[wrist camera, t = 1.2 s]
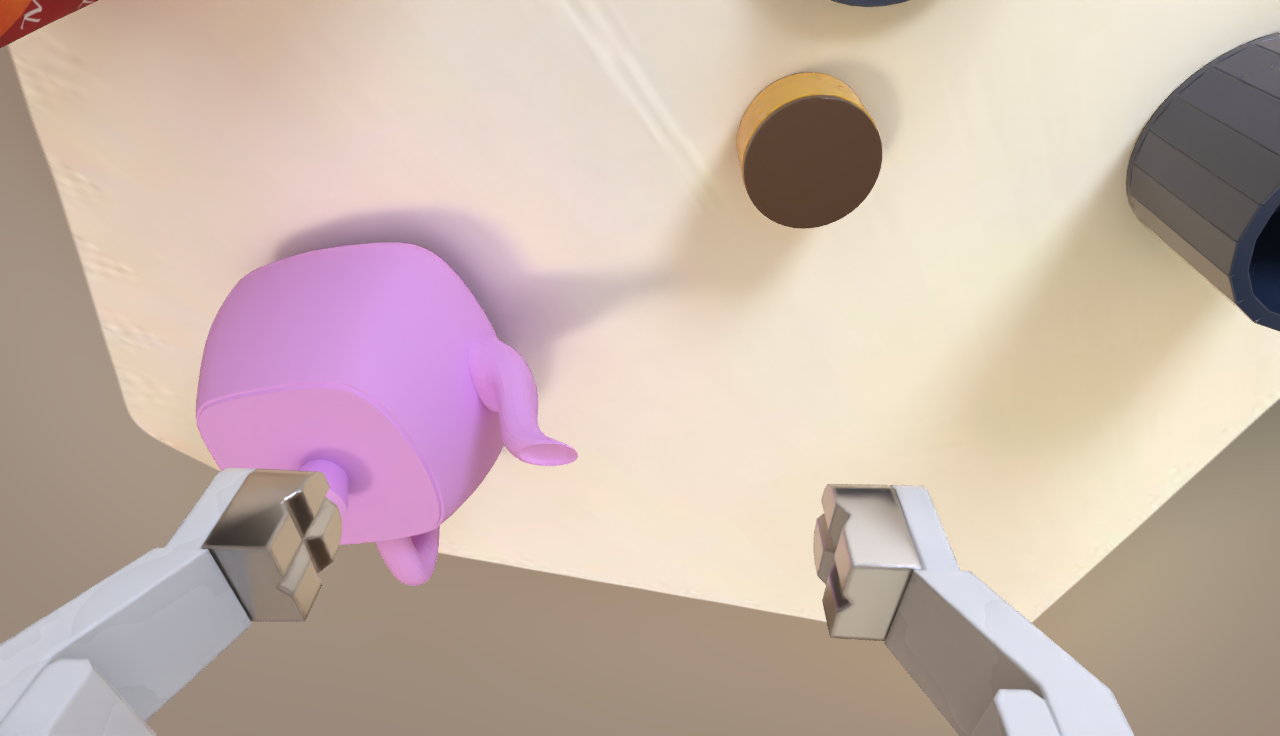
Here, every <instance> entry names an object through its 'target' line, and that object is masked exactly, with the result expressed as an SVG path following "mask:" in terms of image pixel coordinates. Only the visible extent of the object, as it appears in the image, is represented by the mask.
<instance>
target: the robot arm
mask: <svg viewBox="0 0 1280 736" xmlns="http://www.w3.org/2000/svg"><path fill="white" fill-rule="evenodd" d="M329 488H330V486H329V484H328V481H327V479H326V477H325V475H324V473H321V472H317V471H299V470H280V469H260V468H257V469H251V468H230V467H227V468H225V469H224V470H222V471H221V472H219V473H218V474H217V475H216V476H215V477H214V479H213V480H212V482H211V483H210V484H209V486H208V487H207V489H206V490H205V491H204V493H203V494H202V496H201V497H200V498H199V500H198V501H197V503H196V504H195V505H194V507H193V508H192V510H191V511H190V513H189V514H188V515H187V517H186V518H185V520H184V521H183V522H182V524H181V525H180V527H179V528H178V530H177V531H176V532H175V534H174V535H173V536H172V538H171V539H170V541H169V542H168V544H167V545H166V546H165V548H154V549H152V550H151V551H149V552H148V553H146V554H144V555H143V556H141V557H139V558H138V559H136V560H135V561H133V562H132V563H130V564H128V565H127V566H125V567H123V568H122V569H120V570H119V571H117V572H116V573H114V574H112V575H111V576H109V577H107V578H106V579H104V580H103V581H101V582H99V583H98V584H96V585H95V586H93V587H91V588H90V589H88V590H86V591H85V592H83V593H82V594H80V595H78V596H77V597H76V598H74V599H72V600H70V601H69V602H67V603H66V604H64V605H62V606H61V607H59V608H58V609H56V610H54V611H53V612H51V613H50V614H48V615H46V616H45V617H43V618H42V619H40V620H38V621H37V622H35V623H34V624H32V625H30V626H29V627H27V628H26V629H24V630H22V631H21V632H19V633H18V634H16V635H14V636H13V637H11V638H9V639H8V640H6V641H5V642H3V643H2V644H0V736H157V734H155V732H154V731H153V730H152V729H151V728H150V727H149V726H148V725H147V724H146V721H147V720H148V719H149V718H150V717H151V716H153V715H154V714H155V713H156V712H157V711H158V710H159V709H160V708H161V707H162V706H163V705H165V704H166V703H167V702H168V701H169V700H170V699H171V698H172V697H173V696H174V695H175V694H177V693H178V692H179V691H180V690H181V689H182V688H183V687H184V686H185V685H186V684H188V683H189V682H190V681H191V680H192V679H193V678H194V677H195V676H196V675H197V674H199V673H200V672H201V671H202V670H203V669H204V668H205V667H206V666H207V665H208V664H209V663H211V662H212V661H213V660H214V659H215V658H216V657H217V656H218V655H219V654H220V653H221V652H223V651H224V650H225V649H226V648H227V647H228V646H229V645H230V644H231V643H232V642H233V641H235V640H236V639H237V638H238V637H239V636H240V635H241V634H242V633H243V632H244V631H246V630H247V629H248V628H249V627H250V626H251V625H252V622H251V621H296V622H301V621H303V622H305V621H306V619H307V616H308V614H309V612H310V610H311V608H312V606H313V604H314V601H315V599H316V597H317V595H318V592H319V591H320V589H321V586H322V584H321V581H320V578H319V575H318V573H319V572H320V571H322V570H323V569H324V568H325V567H327V566H328V565H329V564H331V563H332V562H333V560H334V558H335V556H336V553H337V551H338V549H339V546H340V540H341V534H342V520H341V514H340V512H339V509H338V506H337V505H336V504H334V503H333V502H332V501H330V500H329V499H328V498H326V497H325V496H326V494H327V492H328V490H329ZM822 505H823V509H824V514H822V515H821V516H820V517H819V518H817V521H816V526H815V531H814V559H815V566H816V571H817V576H818V577H819V578H820V579H821V580H822V581H823V582H824V583H825V584H826V588H825V592H824V596H823V600H822V601H823V606H824V611H825V615H826V620H827V625H828V630H829V634H830V638H841V639H859V640H877V641H885V645H886V646H887V648H888V649H889V650H890V651H891V652H892V654H893V655H894V656H895V657H896V659H897V660H898V661H899V662H900V663H901V665H902V666H903V667H904V668H905V670H906V671H907V672H908V673H909V674H910V676H911V677H912V678H913V679H914V681H915V682H916V683H917V684H918V685H919V687H920V688H921V689H922V690H923V691H924V693H925V694H926V695H927V696H928V698H929V699H930V700H931V701H932V703H933V704H934V705H935V706H936V707H937V709H938V710H939V711H940V712H941V714H942V715H943V716H944V717H945V718H946V720H947V721H948V722H949V723H950V725H951V726H952V727H953V728H954V729H955V731H956V732H957V733H958V734H959V736H1134V734H1133V732H1132V730H1131V728H1130V726H1129V724H1128V722H1127V720H1126V718H1125V716H1124V715H1123V713H1122V711H1121V709H1120V707H1119V705H1118V703H1117V701H1116V699H1115V697H1114V695H1113V693H1112V691H1111V690H1110V689H1109V688H1107V687H1106V686H1105V685H1104V684H1103V683H1102V682H1100V681H1099V680H1098V679H1097V678H1096V677H1094V676H1093V675H1092V674H1091V673H1090V672H1088V671H1087V670H1086V669H1085V668H1084V667H1083V666H1081V665H1080V664H1079V663H1078V662H1077V661H1076V660H1074V659H1073V658H1072V657H1071V656H1070V655H1068V654H1067V653H1066V652H1065V651H1064V650H1063V649H1061V648H1060V647H1059V646H1058V645H1057V644H1055V643H1054V642H1053V641H1052V640H1051V639H1050V638H1048V637H1047V636H1046V635H1045V634H1044V633H1042V632H1041V631H1040V630H1039V629H1038V628H1037V627H1035V626H1034V625H1033V624H1032V623H1031V622H1029V621H1028V620H1027V619H1026V618H1025V617H1024V616H1022V615H1021V614H1020V613H1019V612H1018V611H1016V610H1015V609H1014V608H1013V607H1012V606H1011V605H1009V604H1008V603H1007V602H1006V601H1005V600H1003V599H1002V598H1001V597H1000V596H999V595H998V594H996V593H995V592H994V591H993V590H992V589H990V588H989V587H988V586H987V585H986V584H985V583H983V582H982V581H981V580H980V579H979V578H977V577H976V576H975V575H974V574H973V573H972V572H970V571H960V568H959V566H958V564H957V561H956V559H955V556H954V554H953V551H952V549H951V546H950V544H949V541H948V539H947V536H946V534H945V531H944V529H943V527H942V524H941V522H940V519H939V517H938V514H937V512H936V509H935V507H934V504H933V502H932V499H931V497H930V495H929V492H928V490H927V489H926V488H925V487H924V486H906V485H891V486H889V485H859V484H827V486H826V487H825V489H824V492H823V496H822Z"/></svg>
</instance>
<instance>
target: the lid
mask: <svg viewBox="0 0 1280 736" xmlns="http://www.w3.org/2000/svg"><path fill="white" fill-rule="evenodd" d="M831 1H834V2H838V3H842V4H846V5H850V6H861V7H877V6H887V5H893V4H898V3H903V2H906V1H909V0H831Z"/></svg>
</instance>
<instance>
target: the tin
mask: <svg viewBox="0 0 1280 736" xmlns="http://www.w3.org/2000/svg"><path fill="white" fill-rule="evenodd" d="M737 150H738V157H739V162H740V167H741V172H742V177H743V181H744V185H745V188H746V190H747V193H748V195H749V197H750V199H751V201H752V202H753V204H754V205H755V206H756V208H757V209H758V210H759V211H760V212H761V213H762V214H763V215H764V216H766V217H767V218H769V219H770V220H772V221H774V222H776V223H778V224H781V225H784V226H788V227H793V228H814V227H820V226H823V225H827V224H830V223H832V222H835V221H837V220H839V219H841V218H843V217H844V216H846V215H847V214H849V213H850V212H852V211H853V210H854V209H855V208H856V207H858V206H859V205H860V204H861V203H862V202H863V200H864V199H865V198H866V197H867V195H868V194H869V193H870V191H871V190H872V188H873V186H874V184H875V182H876V180H877V178H878V175H879V172H880V168H881V162H882V145H881V140H880V136H879V133H878V130H877V128H876V126H875V123H874V121H873V120H872V118H871V117H870V115H869V114H868V112H867V111H866V109H865V108H864V106H863V105H862V103H861V102H860V100H859V98H858V97H857V95H856V94H855V93H854V92H853V90H852V89H851V88H850V87H849V86H847V85H846V84H845V83H844V82H842V81H840V80H839V79H837V78H835V77H832V76H830V75H826V74H822V73H813V72H808V73H798V74H793V75H790V76H787V77H784V78H782V79H780V80H778V81H776V82H774V83H772V84H771V85H769V86H768V87H766V88H765V89H764V90H763V91H761V92H760V93H759V94H758V95H757V96H756V98H755V99H754V100H753V101H752V102H751V104H750V105H749V107H748V108H747V110H746V112H745V113H744V116H743V118H742V120H741V123H740V126H739V130H738V136H737Z"/></svg>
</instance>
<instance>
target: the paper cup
mask: <svg viewBox="0 0 1280 736" xmlns="http://www.w3.org/2000/svg"><path fill="white" fill-rule="evenodd" d="M96 1H98V0H0V48H1V47H4V46H6V45H8V44H10V43H12V42H13V41H15V40H17V39H19V38H21V37H23V36H25V35H27V34H29V33H31V32H33V31H35V30H37V29H39V28H41V27H43V26H45V25H47V24H49V23H51V22H53V21H55V20H58V19H60V18H62V17H64V16H66V15H68V14H70V13H73V12H75V11H77V10H79V9H81V8H83V7H85V6H87V5H89V4H92V3H94V2H96Z"/></svg>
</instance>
